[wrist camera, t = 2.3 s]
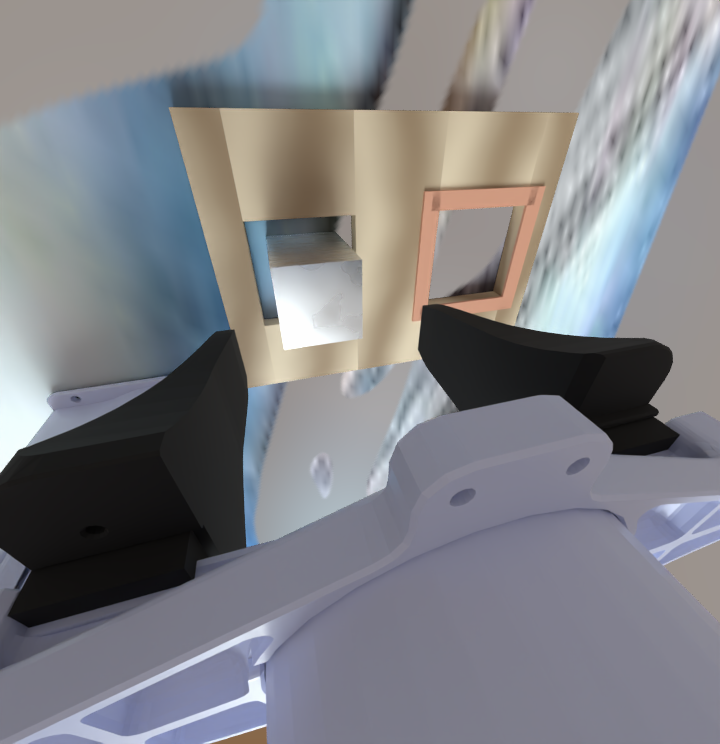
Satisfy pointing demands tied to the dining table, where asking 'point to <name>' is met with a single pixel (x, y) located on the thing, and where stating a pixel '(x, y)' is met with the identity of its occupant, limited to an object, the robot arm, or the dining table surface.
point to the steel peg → (316, 288)
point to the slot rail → (367, 211)
